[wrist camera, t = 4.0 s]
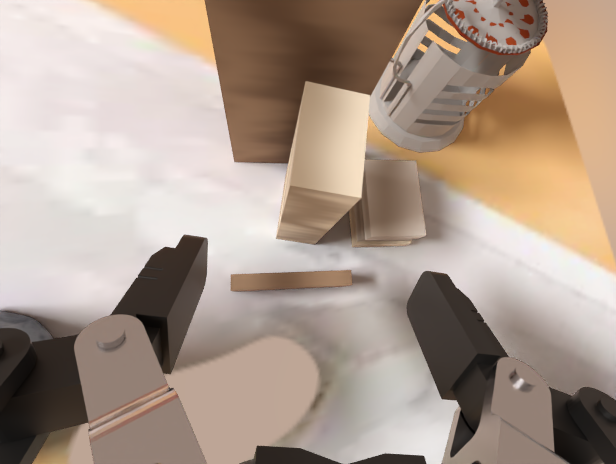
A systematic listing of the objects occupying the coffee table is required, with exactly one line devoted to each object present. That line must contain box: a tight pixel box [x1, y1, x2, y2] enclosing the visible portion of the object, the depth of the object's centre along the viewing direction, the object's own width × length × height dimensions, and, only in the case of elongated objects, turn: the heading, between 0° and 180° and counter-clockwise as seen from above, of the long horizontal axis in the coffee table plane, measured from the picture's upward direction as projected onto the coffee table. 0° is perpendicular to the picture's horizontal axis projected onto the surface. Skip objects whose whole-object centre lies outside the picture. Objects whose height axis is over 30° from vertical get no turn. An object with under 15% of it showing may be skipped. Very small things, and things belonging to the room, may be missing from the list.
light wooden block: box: [276, 81, 370, 245], centre depth 18 cm, size 3×5×11 cm, turn 173°
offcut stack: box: [349, 159, 426, 247], centre depth 23 cm, size 4×6×4 cm
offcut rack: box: [205, 0, 423, 291], centre depth 16 cm, size 8×12×16 cm
